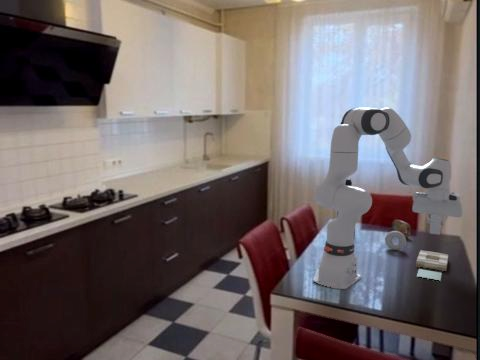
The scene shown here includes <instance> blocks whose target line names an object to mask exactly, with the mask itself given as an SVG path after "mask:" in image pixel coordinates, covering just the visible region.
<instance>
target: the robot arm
mask: <svg viewBox="0 0 480 360" xmlns="http://www.w3.org/2000/svg"><path fill="white" fill-rule="evenodd" d="M332 132H333V133H332V137H331V141H330V151H329V152H330V155H329V167H328V171H327V174H326V177H325V178H324V180H323V181H322V182H320V183H319V184H318V185H317V186H316V188H315V190H314V194H313V197H314V200H315V203H317V204H318V205H320V206H322V207H324V208H325V209H330V210H335V211H337V210H338V217H337V216H336V218H333V219H332V220H330V221H329V222H328V224H327V226H326V241H325V244H324V248H323V251H322V256H321V259H320V261H319V266H317V268H316V271H315V272H314V276H313V277H312V278H313V279H312V282H313V281H314V282H316V283H318V284H321V285H320V286H322V285H324V286H323V287H325V286H327V287H326V288H330V287H331V288H332V289H338V290H346V289H348V288H349V287H351V286H352V285H354V284H355V283H356V282H358V281H359V280H361V278H362V276H361V274H359V273H358V257H357V256H356V255H355V253H354V252H355V247H356V246H355V243H354V239H355V237H354V230H355V231H356V225H357V222H358V221H359V219H360V218H361V217H362V216H363V215H365V214H366V213H368V212H369V210H370V209H371V207H372V205H373V198H372V194H371V193H370V191H368V190H366V189H364V188H361V187H358V186H353V185H352V186H347V185H345V183H346V179H348V178H349V177H351V176H352V175H354V174H355V173H356V172H357V170H358V163H359V162H358V160H359V141H360V140H361V138H362V136H375V135H378V136H379V138H380V139H381V141H382V142H383V143H384V145H385V150H386V152H387V155H388V156H389V158H390V160H391V162H392V163H393V166H394V167H395V169H396V174H397V178H398V180H399V182H400V183H401V184H402V185H405V186H410V187H411V186H412V187H416V188H421V189H427V192H418V191H417V192H415V193H413V194H412V201H413V202H412V209H411V210H412V212H413V213H417V214H424V216H425V219H426V224H429V225H430V223H431V218H429V215H431V214H436V215H442V216H441V217H443V218H444V219H443V220H441V224H440V225H441V226H445V222H446V221H447V220H448V217H453V218H461V217H462V216H463V203H462V201H461V198H462V197H461V194H460V193H456V192H455V191H451V187H450V182H451V180H452V179H451V178H452V163H451V161H450V160H448V159H444V158H439V157H433V158H432V159H431V161H429V162H427V163H426V164H423V165H420V164H414V163H412V162H411V161H409V159H408V158H407V155H406V153H405V151H404V149H405V148H407V146H408V145H410V142H411V140H412V134H411V131H410V129H409V127H408V126H407V124H406V122H405V121H404V120H403V119H402V117H401V116H400V114H398V113H397V112H396V111H395V110H394V109H393V108H391V107H384V108H380V109H379V108H376V107H358V108H357V107H353V108H351V109H348V110H347V111H346V112H345V113H344V114H343V116H342V119H341V122H340V124H339V125H337V126H336V127H335V128H334V129H333V131H332ZM314 282H313V283H314ZM316 283H315V284H316ZM318 284H317V285H318Z"/></svg>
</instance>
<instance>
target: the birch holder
mask: <svg viewBox="0 0 480 360" xmlns="http://www.w3.org/2000/svg"><path fill="white" fill-rule="evenodd" d="M448 260H449V253H448V254H447V253H441V252H434V251H428V250H421V249H420V251H419V253H418V256H417V258H416V263H415V264H416V266H415V267H416V268H420V267H423V268H422V269H426V268H430V269H429V270H431V269H437V270H442V271H441V272H443V271H446V272H447V268H448V263H449V262H448ZM437 270H436V271H437Z"/></svg>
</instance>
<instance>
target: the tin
mask: <svg viewBox="0 0 480 360" xmlns="http://www.w3.org/2000/svg"><path fill="white" fill-rule="evenodd" d="M391 229H392V231H399V232H401V233H402V234H403V235H404V236H405V238H409V237H410V236H411V231H412V227H411V225H410V223H408V222H406V221H403V220H401V219H394V220H393V221H392V223H391Z"/></svg>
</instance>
